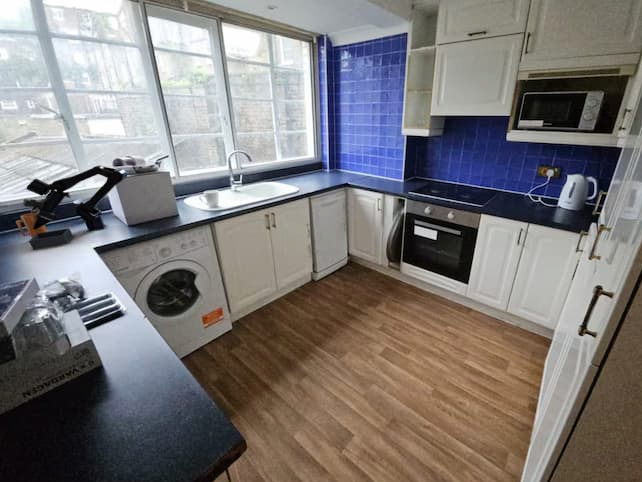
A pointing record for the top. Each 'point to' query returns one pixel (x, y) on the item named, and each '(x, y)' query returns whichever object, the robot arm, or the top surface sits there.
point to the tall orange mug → (30, 225)
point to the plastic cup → (80, 201)
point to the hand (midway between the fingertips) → (32, 227)
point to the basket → (50, 238)
